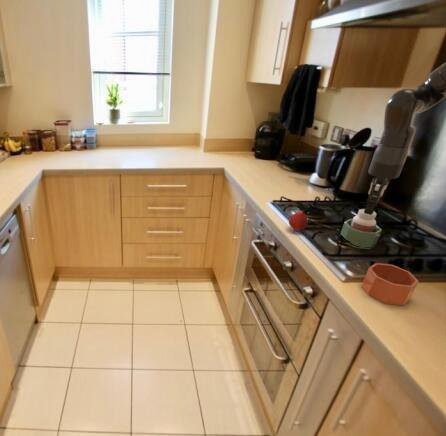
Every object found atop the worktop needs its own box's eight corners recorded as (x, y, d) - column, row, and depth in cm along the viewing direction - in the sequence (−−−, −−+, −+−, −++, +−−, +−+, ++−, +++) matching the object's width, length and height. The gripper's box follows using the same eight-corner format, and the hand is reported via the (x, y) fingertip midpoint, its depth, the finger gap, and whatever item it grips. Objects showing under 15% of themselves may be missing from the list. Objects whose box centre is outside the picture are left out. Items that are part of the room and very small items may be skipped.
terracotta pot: (395, 283, 87) (403, 265, 84) (415, 307, 79) (425, 288, 76) (356, 279, 89) (364, 261, 86) (372, 302, 81) (381, 283, 78)
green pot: (366, 235, 110) (372, 220, 107) (379, 250, 102) (386, 234, 99) (336, 233, 112) (341, 218, 109) (347, 247, 103) (352, 231, 101)
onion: (295, 225, 117) (301, 206, 113) (308, 233, 112) (314, 213, 108) (283, 228, 115) (288, 208, 111) (295, 236, 110) (301, 215, 107)
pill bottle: (371, 246, 103) (384, 216, 98) (351, 245, 104) (362, 215, 99) (361, 237, 109) (373, 208, 104) (342, 236, 110) (352, 207, 104)
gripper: (402, 168, 87) (381, 220, 94) (406, 156, 96) (387, 205, 103) (368, 163, 91) (351, 213, 99) (376, 152, 100) (360, 199, 108)
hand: (370, 209), depth 101 cm, fingers open, 8 cm apart
